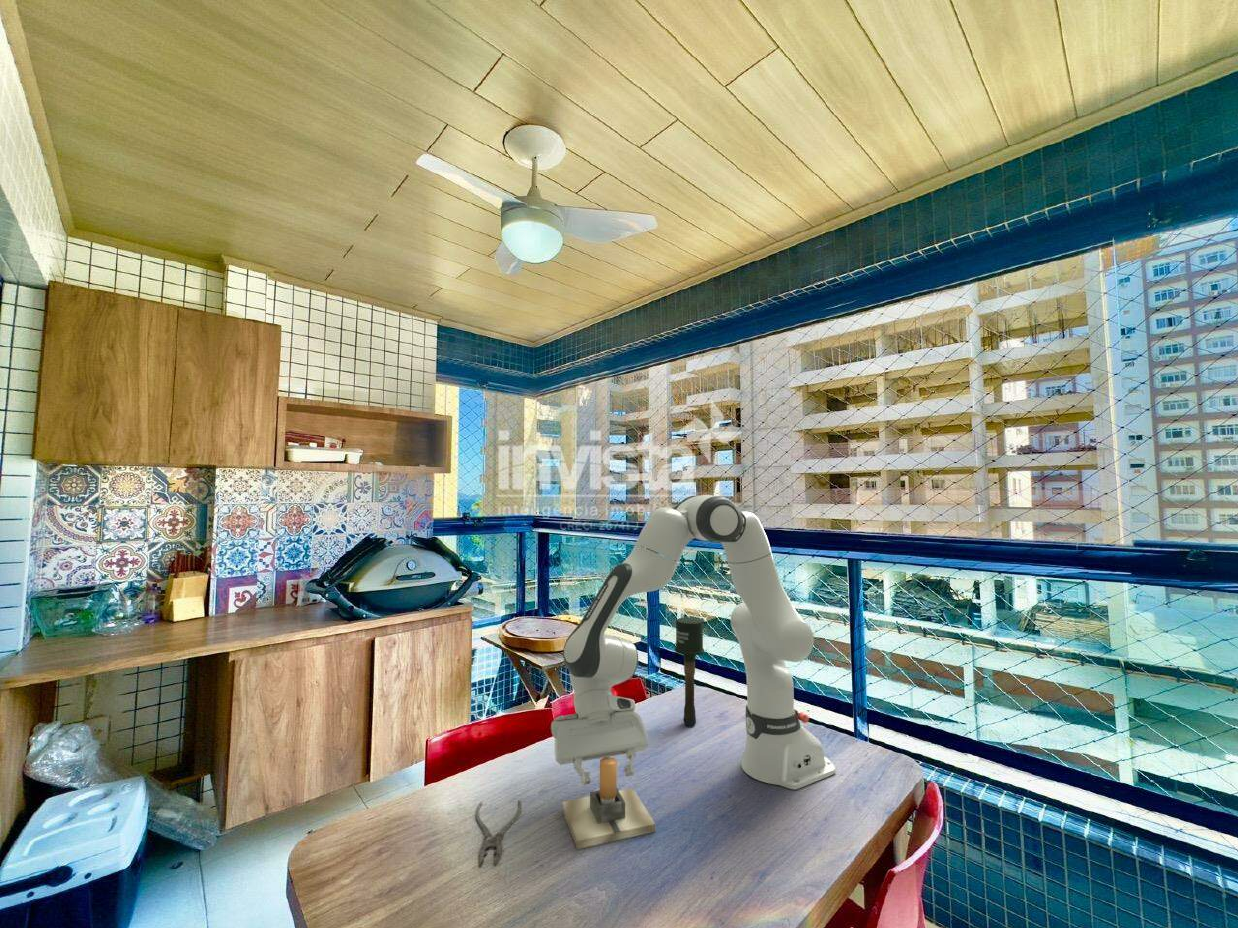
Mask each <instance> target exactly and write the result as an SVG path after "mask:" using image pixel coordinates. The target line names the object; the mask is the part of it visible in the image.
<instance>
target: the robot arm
mask: <svg viewBox="0 0 1238 928" xmlns="http://www.w3.org/2000/svg"><path fill="white" fill-rule="evenodd" d="M764 529H765V528H764V527H763V525H762V523H761V521H760V519H759V518H758V516H757V515H756V514H755V513H753V512H750V511H747V510H746V511H745V510H743V511H741V510H740V508H739V507H738V506H737V505H736V504H735V503H734V502H733V501H732V500H730V499H728V498H726V497H724V496H721V495H720V496H718V495H711V494H702V495H691V496H688V497H686V498H684V499H682V500H681V501H679V503H678V504H676V506H674V507H673V508H671V507H660V508H657V509H655V510H653V512H652V513H651V515H650V516H649V518H648V519H647V521H646V522H645V524H644V525H643V528H642V529H641V531H640V533H639V536H638V537H637V540H636V542H635V544H634V546H633V549H632V550H631V552H630V553H629V555H628V556H627V558H626V559H625V560H623V562H621V563H620V564H617V565H616V566H614V568H613V569H612V570H611V571H610V572H609V573H608V575H607V576H606V578H605V580H604V582H603V583H602V585H601V586H600V589H599V590H598V591H597V593H596V595H595V597H594V598H593V600H592V602H591V604H590V605H589V607H588V609H587V610H586V612H585V613H584V615H583V617H582V619H581V620H580V622H579V624H578V625H577V626H576V628H575V629H574V630H573V631H572V632H571V633H570V634H569V636H568V638H567V639H566V641H565V643H564V645H563V651H562V656H563V662H564V664H565V667H566V669H567V671H568V672H569V678H570V679H569V680H570V684H571V687H572V689H573V693H574V696H573V703H574V704H573V705H574V710H575V713H572V714H567V715H559V716H557V717H556V718H555V719H554V720H553V721H552V722H551V725H550V730H551V734H552V737H553V738H554V756H555V757H554V758H555V762H556V763H557V764H559V765H560V766H561V765H562V766H563V765H566V764H567V765H568V764H572V765H573V769H574V770H575V771H576V773H577V774H578V776H579V777H580V780H581V785H582V786H585V785H589V784H590V783H591V777H590V775H591V774H590V771H585V770H584V768H583V767H582V764H583V762H586V761H590V760H596V759H597V760H598V759H602V758H605V757H614V756H620V755H625V757H626V759H627V760H628V759H629V760H628V764H627V765H625V766H624V768H623V770H624V771H623V772H625V774H624V776H625V777H626V778H629V777H633V776H634V774H635V771H634V766H633V764H634V760H635V757H636V753H638V752H643V751H645V749H646V747H647V745H648V744H649V736H648V733H647V729H646V726H645V724H644V721H643V719H642V716H641V715H640V714H639V712H638V711H635V709H636V703H635V700H634V699H632V698H627V697H622V696H618V695H614V694H613V692H612V687H613V686H617V685H618V686H619V685H620V684H623V683H624V682H626V681H628V680H630V679H631V678H632V677H633V676H634V674H635V673H636V672H637V669H638V666H639V653H638V650H637V647H636V645H635V644H634V642H632V641H631V640H628V639H626V638H623V637H620V636H615V635H611V634H606V631H607V629H608V627H609V626H610V624H611V621H613V618H614V617H615V615H616V614H617V611H618V610H619V607H620V606H621V604H622V603H623V602H624V601H625V600H627V599H628V598H630V597H632V596H635V595H637V594H641V593H651V592H654V591H655V592H656V591H658V590H660V589H662V588H664V587H665V586H667V585H668V584H669V583H670V581H671V580H672V578H673V576H674V575H675V572H676V570H677V568H678V565H679V562H680V560H681V557H682V555H683V551H684V550H685V548H686V546H687V545H688V544H689V542H691V541H692V540H694V539H696V540H698V541H703V542H706V541H707V542H712V543H720V544H721V545H722V548H723V550H724V554H725V559H726V562H727V565H728V569H729V572H730V577H731V580H732V584H733V587H734V590H735V592H736V594H737V595H738V596H739V598H741V600H742V601H743V602H741V603H739V604H737V605H736V606H735V607H734V609H733V611H732V612H731V615H730V626H731V629H732V631H733V632H734V634H735V636H736V638H737V640H738V644H739V647H740V651H741V656H742V660H743V664H744V669H745V675H746V676H745V677H746V695H747V696H746V697H747V701H746V703H747V704H746V706H745V729H746V736H745V744H744V749H743V755H742V759H741V761H740V766H741V768H742V770H743V771H744V772H745V774H747V775H748V776H750V777H751V778H752V779H755V780H757V781H760V782H763V783H767V784H769V785H778V786H781V787H784V788H787V789H790V790H799V789H801V788H803V787H806V786H808V785H811V784H813V783H815V782H818V781H820V780H823V779H826V778H828V777H830V776H832V775H834V774H836V767H835V765H834V764H833V762H832V761H831V760H830V759H829V758H828V757H826V756H825V752H824V747H823V745H822V743H821V741H820V740H819V739H818V738H817V737H816V736H814V735H813V733H811V732H810V731H809V730H808V729H806V728H805V727H804V726H803V725H801V723H800V721H801V722H802V723H804V724H807V723H808V722H809V721H810V720H809V719H810V717H809V715H808V714H806V713H804V712H802V711H800V712H799V711H798V710H797V709H796V708H795V705H794V703H795V697H794V696H795V695H794V693H795V691H794V690H795V689H794V685H795V684H794V680H793V676H792V674H791V672H790V670H789V669H788V667H787V665H786V663H785V662H792V663H799V662H802V661H804V660H805V659H807V658H808V657H809V656H810V655H811V653H812V651H813V648H814V643H815V636H814V633H813V632H814V631H813V629H811V627H810V626H809V625H808V623H807V622H806V621H805V620H804V619H803V618H802V616H801V615H800V613H799V612H798V611H797V610H796V608H795V607H794V605H793V603H792V601H791V599H790V597H789V596H788V593H787V592H786V590H785V588H784V586H783V584H782V582H781V579H780V576H779V573H778V570H777V566H776V563H775V560H774V556H773V553H772V548H771V546H770V542H769V539H768V536H767V534H766V532H765V530H764Z"/></svg>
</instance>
